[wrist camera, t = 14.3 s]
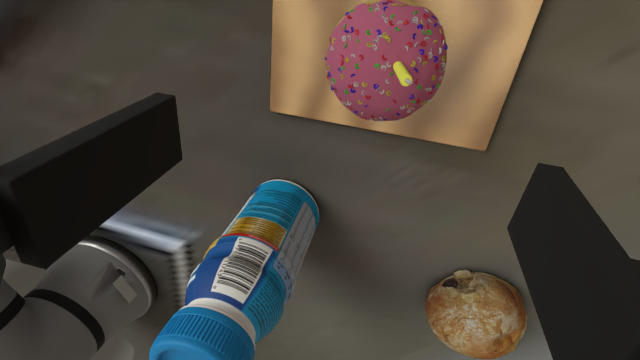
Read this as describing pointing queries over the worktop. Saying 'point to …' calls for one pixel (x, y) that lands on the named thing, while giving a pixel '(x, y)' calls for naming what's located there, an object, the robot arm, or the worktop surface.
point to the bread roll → (476, 314)
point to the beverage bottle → (243, 278)
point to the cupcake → (386, 59)
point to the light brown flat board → (457, 84)
